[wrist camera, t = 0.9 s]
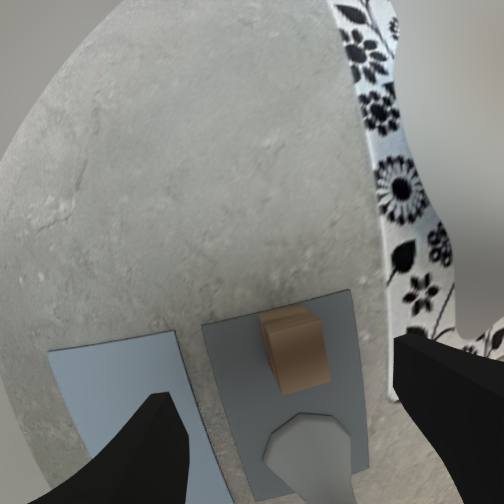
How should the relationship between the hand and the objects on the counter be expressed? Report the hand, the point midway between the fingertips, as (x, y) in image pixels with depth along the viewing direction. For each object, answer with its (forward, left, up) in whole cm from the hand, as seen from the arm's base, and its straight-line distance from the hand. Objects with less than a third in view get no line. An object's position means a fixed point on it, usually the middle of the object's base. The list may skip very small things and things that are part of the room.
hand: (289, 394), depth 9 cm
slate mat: (-9, +11, -14) cm, 20 cm away
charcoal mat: (-9, -2, -14) cm, 17 cm away
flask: (-13, -2, -13) cm, 19 cm away
